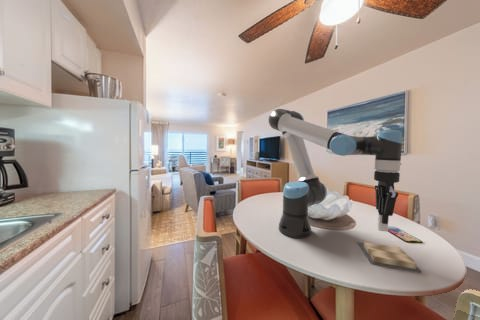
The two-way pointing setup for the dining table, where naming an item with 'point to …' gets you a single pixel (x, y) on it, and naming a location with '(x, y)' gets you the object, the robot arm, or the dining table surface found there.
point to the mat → (385, 264)
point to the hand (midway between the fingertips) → (382, 230)
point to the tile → (389, 255)
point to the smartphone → (403, 235)
